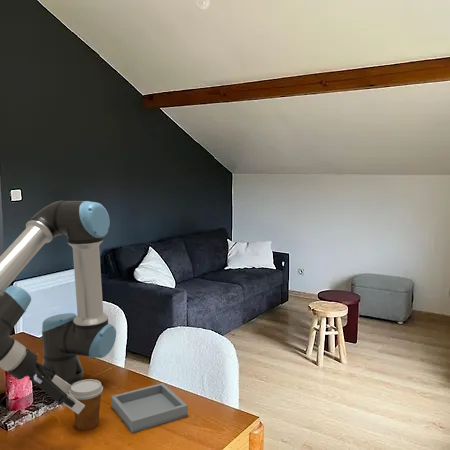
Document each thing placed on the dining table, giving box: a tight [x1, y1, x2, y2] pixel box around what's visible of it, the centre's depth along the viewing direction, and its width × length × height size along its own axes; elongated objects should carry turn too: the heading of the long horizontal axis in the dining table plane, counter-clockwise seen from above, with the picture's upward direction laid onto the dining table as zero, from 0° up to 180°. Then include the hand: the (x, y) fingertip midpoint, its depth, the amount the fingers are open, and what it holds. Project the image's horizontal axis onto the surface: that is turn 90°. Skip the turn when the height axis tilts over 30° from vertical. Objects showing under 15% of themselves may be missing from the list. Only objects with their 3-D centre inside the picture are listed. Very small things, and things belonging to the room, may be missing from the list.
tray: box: [110, 382, 189, 434], centre depth 147 cm, size 18×18×4 cm
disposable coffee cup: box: [68, 378, 104, 431], centre depth 139 cm, size 10×10×12 cm
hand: (75, 399), depth 136 cm, fingers open, 13 cm apart
